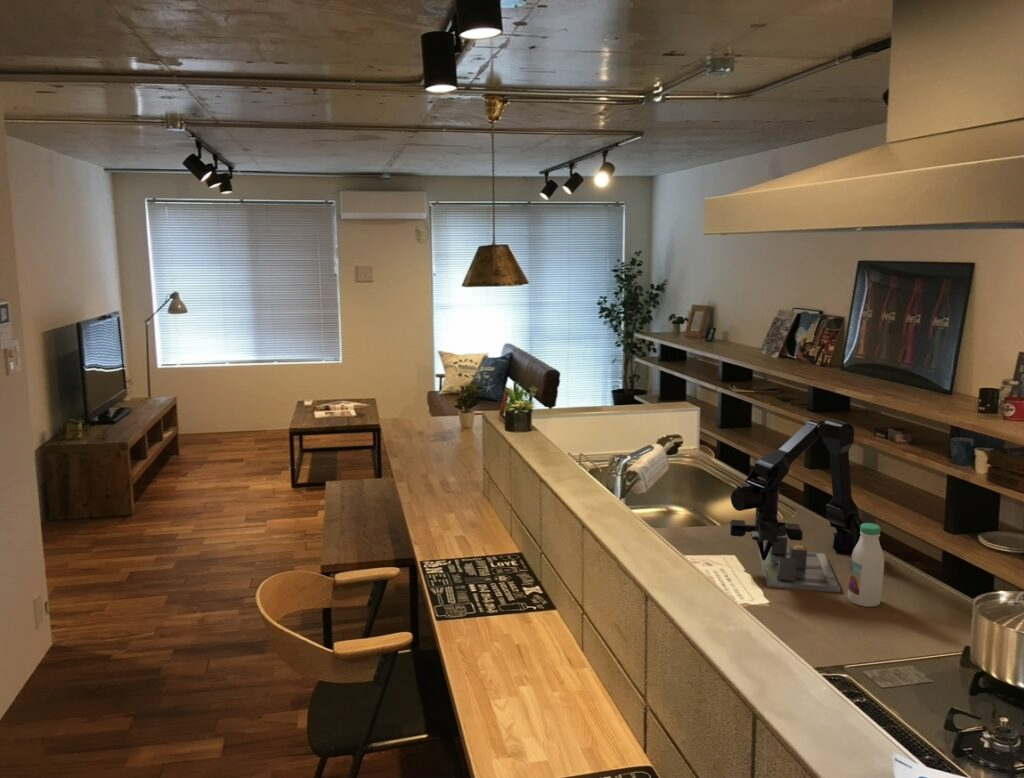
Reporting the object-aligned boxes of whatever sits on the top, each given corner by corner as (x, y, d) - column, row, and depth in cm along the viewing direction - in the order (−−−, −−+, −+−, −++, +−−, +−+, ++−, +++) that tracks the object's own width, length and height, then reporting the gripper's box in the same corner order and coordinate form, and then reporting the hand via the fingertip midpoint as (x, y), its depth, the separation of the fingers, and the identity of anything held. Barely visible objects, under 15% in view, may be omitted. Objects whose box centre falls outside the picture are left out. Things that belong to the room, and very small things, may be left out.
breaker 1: (784, 550, 240) (785, 533, 239) (786, 554, 237) (787, 537, 236) (770, 549, 240) (771, 532, 239) (771, 553, 237) (772, 536, 236)
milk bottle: (881, 597, 213) (888, 523, 209) (880, 610, 206) (887, 533, 202) (848, 592, 216) (854, 518, 213) (846, 604, 210) (852, 528, 206)
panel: (824, 557, 238) (824, 552, 238) (839, 592, 216) (840, 587, 216) (758, 553, 242) (759, 548, 241) (767, 586, 219) (767, 581, 219)
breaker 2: (793, 576, 222) (794, 558, 221) (794, 580, 219) (796, 562, 218) (777, 574, 223) (778, 557, 222) (779, 579, 220) (780, 561, 219)
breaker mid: (804, 563, 230) (805, 546, 229) (805, 568, 227) (807, 550, 226) (788, 562, 231) (790, 544, 230) (790, 567, 228) (791, 549, 227)
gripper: (733, 513, 221) (730, 568, 224) (807, 517, 218) (803, 574, 221) (730, 499, 232) (727, 552, 235) (801, 503, 229) (797, 557, 232)
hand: (763, 559), depth 231 cm, fingers closed
